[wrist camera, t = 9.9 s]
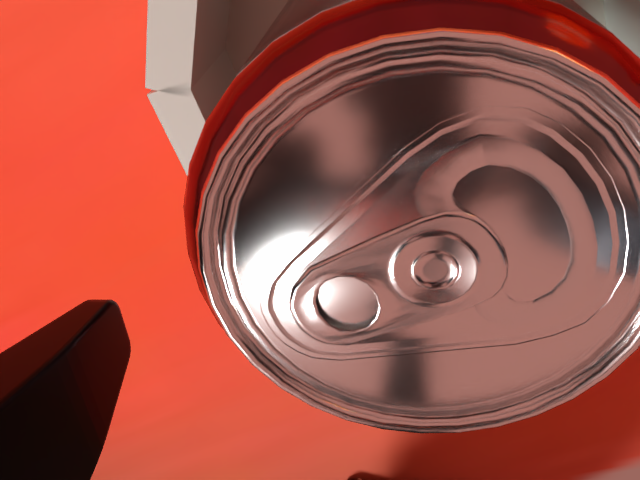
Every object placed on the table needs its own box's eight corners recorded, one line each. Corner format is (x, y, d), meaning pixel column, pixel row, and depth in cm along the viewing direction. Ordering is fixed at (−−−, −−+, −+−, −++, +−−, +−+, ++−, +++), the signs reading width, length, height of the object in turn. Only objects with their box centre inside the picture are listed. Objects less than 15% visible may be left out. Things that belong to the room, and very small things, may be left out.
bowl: (535, 254, 23) (563, 334, 19) (183, 176, 22) (140, 242, 19) (737, -173, 15) (849, -180, 12) (217, -294, 15) (158, -341, 11)
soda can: (491, -147, 16) (667, -139, 6) (561, 102, 19) (752, 389, 9) (248, -21, 18) (62, 145, 8) (348, 182, 21) (309, 483, 11)
